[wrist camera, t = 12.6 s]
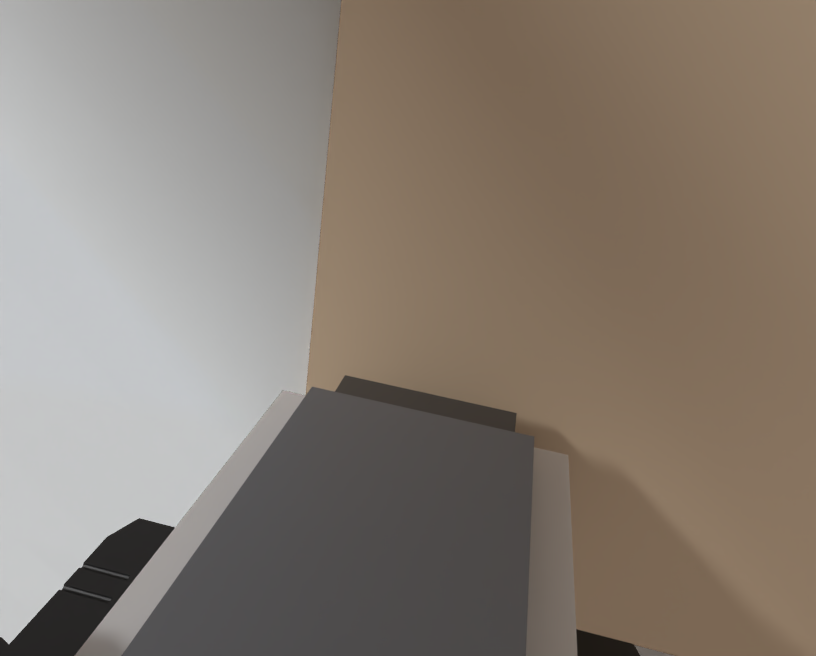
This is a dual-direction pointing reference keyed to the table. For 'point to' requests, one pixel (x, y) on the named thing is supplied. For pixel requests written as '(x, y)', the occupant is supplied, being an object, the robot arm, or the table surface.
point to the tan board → (600, 279)
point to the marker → (365, 537)
